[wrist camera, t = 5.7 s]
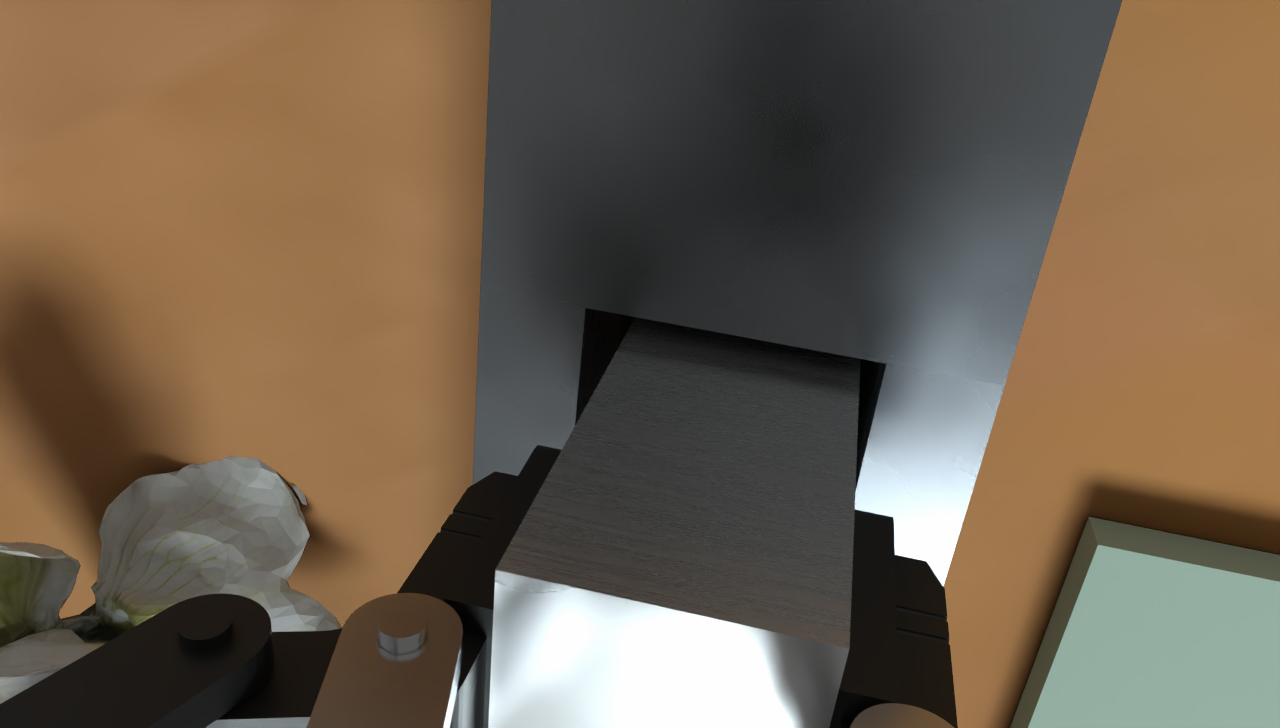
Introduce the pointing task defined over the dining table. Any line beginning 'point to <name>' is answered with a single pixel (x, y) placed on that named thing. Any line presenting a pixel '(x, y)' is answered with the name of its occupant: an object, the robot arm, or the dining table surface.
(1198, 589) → the rubber mat
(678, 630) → the steel peg
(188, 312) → the dining table surface
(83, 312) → the dining table surface
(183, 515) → the artificial flower
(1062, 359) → the dining table surface
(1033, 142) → the grey peg hole block
